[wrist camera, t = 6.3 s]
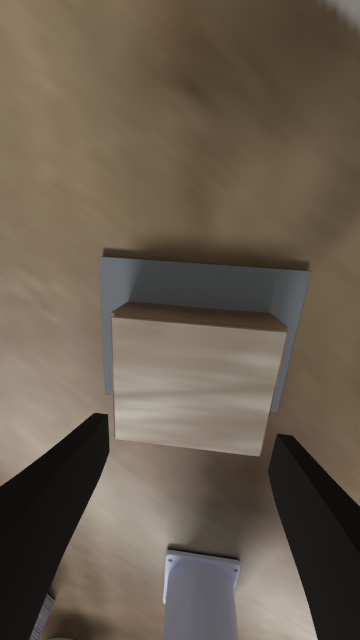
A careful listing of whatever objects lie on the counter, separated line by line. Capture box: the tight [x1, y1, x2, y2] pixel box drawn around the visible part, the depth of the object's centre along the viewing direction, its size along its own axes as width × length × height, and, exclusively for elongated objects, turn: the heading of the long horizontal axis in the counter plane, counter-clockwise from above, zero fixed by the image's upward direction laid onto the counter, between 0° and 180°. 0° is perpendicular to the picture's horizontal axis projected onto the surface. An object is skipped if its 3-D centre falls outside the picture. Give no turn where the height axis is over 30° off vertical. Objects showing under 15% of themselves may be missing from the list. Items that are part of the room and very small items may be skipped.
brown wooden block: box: [110, 301, 289, 456], centre depth 15 cm, size 4×10×9 cm
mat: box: [99, 257, 311, 413], centre depth 16 cm, size 11×14×1 cm
